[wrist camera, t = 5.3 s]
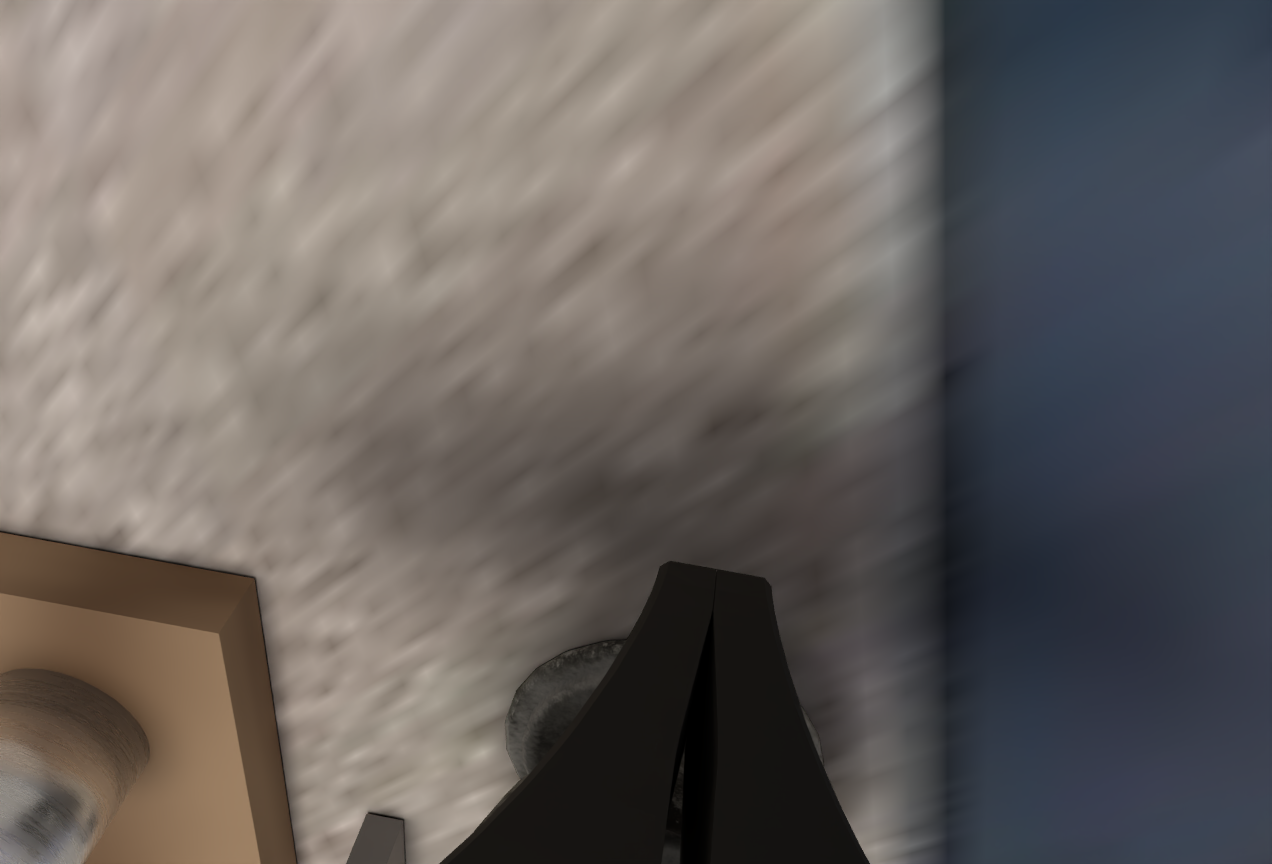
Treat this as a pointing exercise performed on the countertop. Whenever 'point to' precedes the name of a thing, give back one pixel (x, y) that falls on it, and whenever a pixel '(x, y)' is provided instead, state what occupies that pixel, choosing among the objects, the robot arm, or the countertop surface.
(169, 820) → the pin board
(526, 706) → the grey stone tall piece
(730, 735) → the robot arm
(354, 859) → the segmented grey arc
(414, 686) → the countertop surface
